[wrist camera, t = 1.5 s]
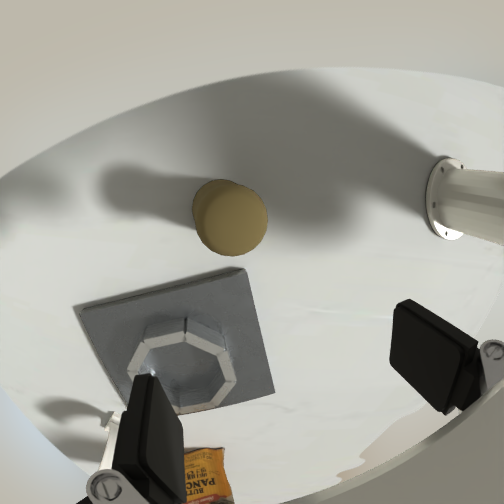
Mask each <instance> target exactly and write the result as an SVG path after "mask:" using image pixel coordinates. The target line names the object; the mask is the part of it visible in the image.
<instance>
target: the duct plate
mask: <svg viewBox="0 0 504 504" xmlns="http://www.w3.org/2000/svg"><path fill="white" fill-rule="evenodd" d="M79 315H80V317H81V319H82V321H83V323H84V326H85V328H86V330H87V332H88V334H89V336H90V338H91V340H92V342H93V344H94V346H95V348H96V350H97V352H98V354H99V356H100V358H101V360H102V361H103V363H104V365H105V367H106V369H107V371H108V372H109V374H110V376H111V378H112V379H113V381H114V383H115V384H116V386H117V388H118V389H119V391H120V393H121V394H122V396H123V397H124V399H125V400H126V402H127V404H128V403H129V398H130V393H131V389H132V385H133V380H134V377H135V375H139V374H146V373H151V374H152V376H157V377H158V379H159V381H160V383H161V385H162V387H163V389H164V391H165V393H166V395H167V397H168V399H169V401H170V403H171V405H172V407H173V409H174V411H175V413H176V415H177V416H178V415H184V414H190V413H195V412H201V411H206V410H210V409H215V408H220V407H224V406H228V405H233V404H237V403H241V402H245V401H249V400H252V399H256V398H260V397H263V396H267V395H270V394H273V393H275V389H274V385H273V381H272V377H271V373H270V368H269V364H268V360H267V356H266V352H265V347H264V343H263V339H262V335H261V331H260V326H259V322H258V318H257V313H256V309H255V305H254V301H253V296H252V292H251V288H250V283H249V279H248V275H247V272H246V270H245V269H241V270H237V271H233V272H229V273H226V274H222V275H218V276H214V277H210V278H206V279H202V280H198V281H194V282H191V283H187V284H183V285H179V286H175V287H171V288H167V289H163V290H159V291H155V292H151V293H147V294H143V295H139V296H134V297H130V298H126V299H122V300H118V301H114V302H110V303H106V304H101V305H97V306H93V307H89V308H85V309H83V310H82V311H81V313H80V314H79Z"/></svg>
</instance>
